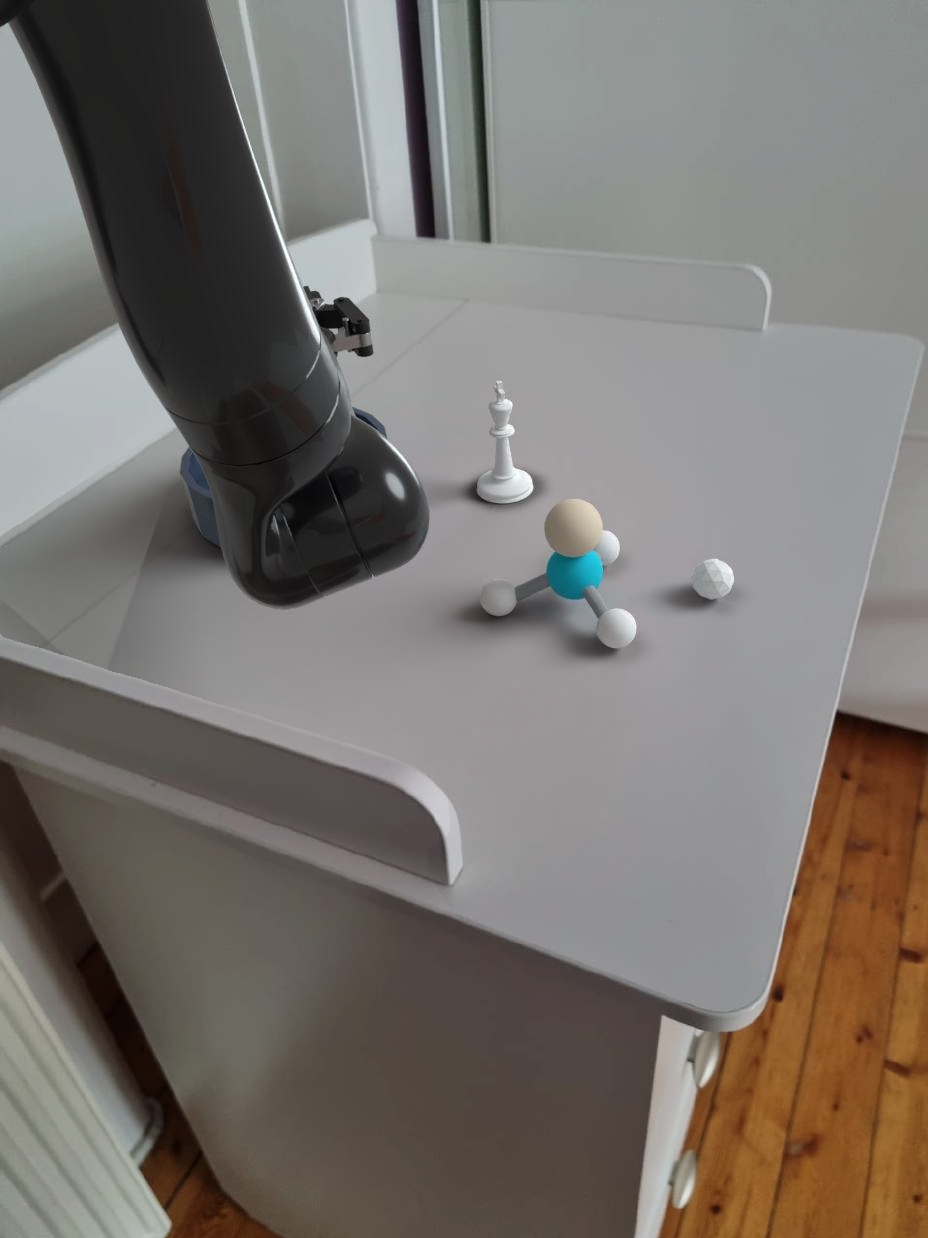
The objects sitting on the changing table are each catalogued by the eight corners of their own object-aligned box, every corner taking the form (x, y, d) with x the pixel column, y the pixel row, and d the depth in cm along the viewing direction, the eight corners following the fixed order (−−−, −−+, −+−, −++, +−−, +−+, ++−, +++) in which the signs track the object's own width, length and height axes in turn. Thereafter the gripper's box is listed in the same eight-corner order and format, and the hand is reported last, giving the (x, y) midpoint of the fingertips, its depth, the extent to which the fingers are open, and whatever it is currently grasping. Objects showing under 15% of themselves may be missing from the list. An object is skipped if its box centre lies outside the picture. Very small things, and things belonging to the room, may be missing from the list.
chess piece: (486, 508, 80) (479, 400, 74) (470, 481, 84) (461, 375, 78) (541, 496, 81) (538, 388, 75) (522, 469, 85) (518, 364, 78)
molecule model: (677, 643, 65) (686, 537, 59) (512, 682, 63) (506, 577, 58) (611, 550, 74) (614, 450, 69) (466, 582, 72) (457, 482, 67)
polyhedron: (696, 610, 68) (700, 576, 66) (686, 585, 70) (689, 552, 68) (736, 606, 68) (740, 572, 66) (724, 581, 70) (728, 548, 68)
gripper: (390, 316, 59) (346, 241, 72) (157, 355, 57) (155, 270, 70) (403, 425, 64) (360, 336, 77) (188, 465, 62) (181, 366, 74)
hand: (262, 305), depth 73 cm, fingers closed on lollipop, 6 cm apart
